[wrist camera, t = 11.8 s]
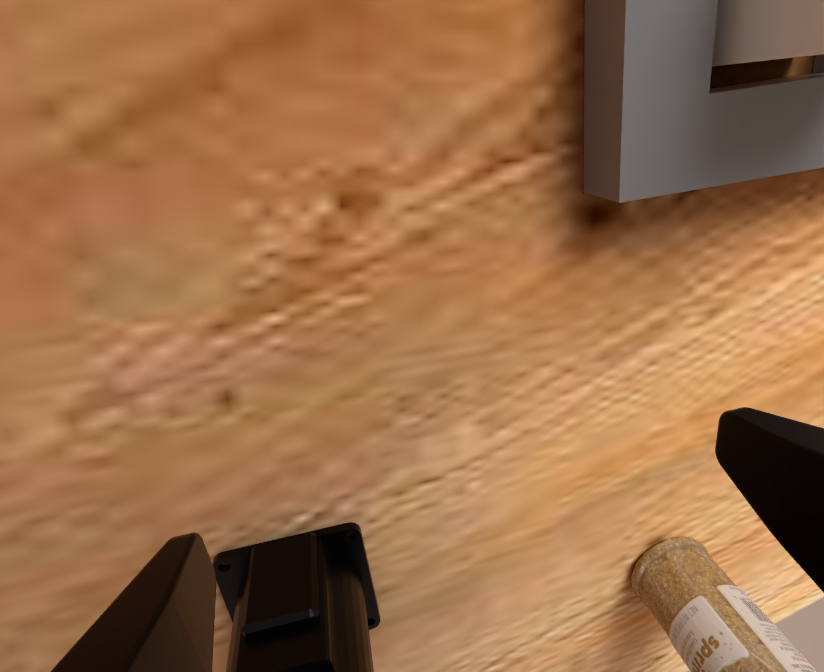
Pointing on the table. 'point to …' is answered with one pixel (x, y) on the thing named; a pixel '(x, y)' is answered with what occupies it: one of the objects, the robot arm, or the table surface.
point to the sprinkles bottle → (710, 613)
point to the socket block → (684, 106)
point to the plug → (767, 30)
